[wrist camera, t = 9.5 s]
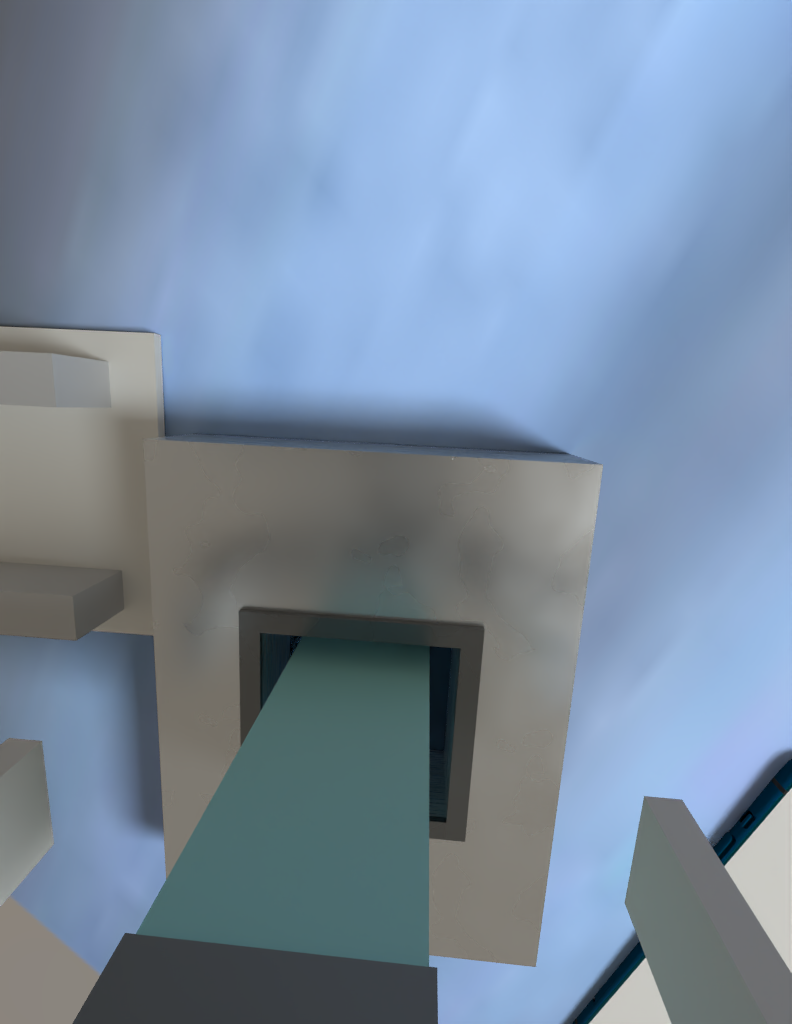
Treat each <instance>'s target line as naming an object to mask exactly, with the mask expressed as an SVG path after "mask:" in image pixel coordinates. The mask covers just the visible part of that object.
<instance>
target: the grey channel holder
mask: <svg viewBox="0 0 792 1024" xmlns="http://www.w3.org/2000/svg"><path fill="white" fill-rule="evenodd" d="M158 437H165V423H164V400H163V377H162V354H161V335H158V334H155V333H136V332H114V331H91V330H68V329H45V328H23V327H0V635H12V636H25V637H37V638H50V639H62V640H75V641H77V640H78V639H80V638H81V637H83V636H84V635H86V634H87V633H89V632H90V631H101V632H114V633H126V634H139V635H152V636H154V635H153V616H152V597H151V578H150V559H149V540H148V521H147V502H146V483H145V464H144V445H143V439H148V438H158Z"/></svg>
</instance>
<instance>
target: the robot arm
mask: <svg viewBox="0 0 792 1024" xmlns="http://www.w3.org/2000/svg"><path fill="white" fill-rule="evenodd" d="M53 844H54V840H53V832H52V823H51V815H50V806H49V798H48V789H47V781H46V772H45V764H44V755H43V747H42V741H36V740H25V739H14V738H9V739H7V740H6V741H5V742H4V743H2V744H1V745H0V907H1V905H2V904H3V903H4V902H5V901H6V900H7V898H8V897H9V896H10V895H11V894H12V893H13V891H14V890H15V889H16V888H17V887H18V886H19V884H20V883H21V882H22V881H23V880H24V878H25V877H26V876H27V875H28V874H29V873H30V871H31V870H32V869H33V868H34V867H35V866H36V864H37V863H38V862H39V861H40V860H41V859H42V857H43V856H44V855H45V854H46V853H47V852H48V850H49V849H50V848H51V847H52V846H53ZM625 905H626V907H627V910H628V913H629V915H630V918H631V920H632V923H633V925H634V928H635V931H636V933H637V936H638V938H639V941H640V944H641V946H642V949H643V951H644V954H645V956H646V959H647V962H648V964H649V967H650V969H651V972H652V975H653V977H654V980H655V982H656V985H657V987H658V990H659V993H660V995H661V998H662V1000H663V1003H664V1006H665V1008H666V1011H667V1013H668V1016H669V1019H670V1021H671V1024H792V973H791V972H790V970H789V968H788V967H787V965H786V964H785V962H784V960H783V959H782V957H781V956H780V954H779V953H778V951H777V949H776V948H775V946H774V945H773V943H772V941H771V940H770V938H769V937H768V935H767V934H766V932H765V930H764V929H763V927H762V926H761V924H760V922H759V921H758V919H757V918H756V916H755V915H754V913H753V911H752V910H751V908H750V907H749V905H748V903H747V902H746V900H745V899H744V897H743V896H742V894H741V892H740V891H739V889H738V888H737V886H736V884H735V883H734V881H733V880H732V878H731V877H730V875H729V873H728V872H727V870H726V869H725V867H724V865H723V864H722V862H721V861H720V859H719V858H718V856H717V854H716V853H715V851H714V850H713V848H712V846H711V845H710V843H709V842H708V840H707V838H706V837H705V835H704V834H703V832H702V831H701V829H700V827H699V826H698V824H697V823H696V821H695V819H694V818H693V816H692V815H691V813H690V812H689V810H688V808H687V807H686V805H685V804H684V802H683V800H680V799H669V798H658V797H647V796H644V800H643V806H642V811H641V817H640V822H639V828H638V833H637V839H636V844H635V850H634V855H633V861H632V866H631V871H630V877H629V882H628V888H627V893H626V899H625Z"/></svg>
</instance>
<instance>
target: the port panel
mask: <svg viewBox="0 0 792 1024" xmlns="http://www.w3.org/2000/svg"><path fill="white" fill-rule="evenodd" d="M143 445H144V464H145V483H146V502H147V521H148V540H149V559H150V578H151V597H152V616H153V635H154V654H155V674H156V693H157V712H158V731H159V750H160V769H161V788H162V807H163V826H164V845H165V864H166V879H167V878H168V876H169V874H170V872H171V871H172V869H173V867H174V865H175V863H176V862H177V860H178V858H179V856H180V854H181V853H182V851H183V849H184V847H185V846H186V844H187V842H188V840H189V838H190V837H191V835H192V833H193V831H194V829H195V828H196V826H197V824H198V822H199V821H200V819H201V817H202V815H203V813H204V812H205V810H206V808H207V806H208V804H209V803H210V801H211V799H212V797H213V795H214V794H215V792H216V790H217V788H218V787H219V785H220V783H221V781H222V779H223V778H224V776H225V774H226V772H227V770H228V769H229V767H230V765H231V763H232V762H233V760H234V758H235V756H236V754H237V753H238V751H239V749H240V747H241V745H242V744H243V742H244V740H245V738H246V736H247V735H248V733H249V731H250V729H251V728H252V726H253V724H254V722H255V720H256V719H257V717H258V715H259V713H260V711H261V710H262V708H263V706H264V704H265V703H266V701H267V699H268V697H269V695H270V694H271V692H272V690H273V688H274V686H275V685H276V683H277V681H278V679H279V677H280V676H281V674H282V672H283V670H284V669H285V667H286V665H287V663H288V661H289V660H290V642H291V635H293V636H306V637H319V638H332V639H345V640H358V641H371V642H384V643H396V644H409V645H422V646H435V647H448V648H452V651H451V664H450V677H449V689H448V702H447V715H446V728H445V740H444V751H438V750H429V955H434V956H443V957H452V958H461V959H469V960H478V961H487V962H496V963H505V964H514V965H523V966H532V967H536V960H537V953H538V945H539V938H540V931H541V923H542V916H543V908H544V901H545V893H546V886H547V878H548V871H549V864H550V856H551V849H552V841H553V834H554V826H555V819H556V811H557V804H558V797H559V789H560V782H561V774H562V767H563V759H564V752H565V744H566V737H567V730H568V722H569V715H570V707H571V700H572V692H573V685H574V677H575V670H576V663H577V655H578V648H579V640H580V633H581V625H582V618H583V610H584V603H585V596H586V588H587V581H588V573H589V566H590V558H591V551H592V543H593V536H594V529H595V521H596V514H597V506H598V499H599V491H600V484H601V476H602V469H603V465H602V464H599V463H596V462H593V461H590V460H587V459H584V458H581V457H578V456H574V455H571V454H556V453H538V452H520V451H502V450H484V449H466V448H448V447H429V446H411V445H393V444H375V443H357V442H339V441H321V440H303V439H285V438H266V437H248V436H230V435H212V434H186V435H176V436H167V437H158V438H148V439H143Z"/></svg>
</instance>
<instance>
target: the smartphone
mask: <svg viewBox="0 0 792 1024" xmlns="http://www.w3.org/2000/svg"><path fill="white" fill-rule="evenodd" d="M713 850H714V851H715V853H716V854H717V856H718V858H719V859H720V861H721V862H722V864H723V865H724V867H725V869H726V870H727V872H728V873H729V875H730V877H731V878H732V880H733V881H734V883H735V884H736V886H737V888H738V889H739V891H740V892H741V894H742V896H743V897H744V899H745V900H746V902H747V903H748V905H749V907H750V908H751V910H752V911H753V913H754V915H755V916H756V918H757V919H758V921H759V922H760V924H761V926H762V927H763V929H764V930H765V932H766V934H767V935H768V937H769V938H770V940H771V941H772V943H773V945H774V946H775V948H776V949H777V951H778V953H779V954H780V956H781V957H782V959H783V960H784V962H785V964H786V965H787V967H788V968H789V970H790V972H791V973H792V759H791V760H789V761H788V762H787V763H786V764H785V765H784V766H783V767H782V768H781V769H780V770H779V772H778V773H777V774H776V775H775V777H774V778H773V779H772V780H771V781H770V783H769V784H768V785H767V786H766V788H765V789H764V790H763V791H762V792H761V794H760V795H759V796H758V797H757V799H756V800H755V801H754V802H753V803H752V805H751V806H750V807H749V808H748V810H747V811H746V812H745V813H744V814H743V816H742V817H741V818H740V819H739V821H738V822H737V823H736V824H735V825H734V827H733V828H732V829H731V830H730V832H729V833H726V834H725V835H724V836H723V837H722V839H721V840H720V841H719V842H718V843H717V844H716V846H715V847H714V848H713ZM594 997H595V1000H594V999H592V1000H591V1001H590V1003H589V1004H588V1005H587V1006H586V1007H585V1009H584V1010H583V1011H582V1012H581V1014H580V1015H579V1016H578V1017H577V1018H576V1020H575V1021H574V1022H573V1023H572V1024H671V1021H670V1019H669V1016H668V1013H667V1011H666V1008H665V1006H664V1003H663V1000H662V998H661V995H660V993H659V990H658V987H657V985H656V982H655V980H654V977H653V975H652V972H651V969H650V967H649V964H648V962H647V959H646V956H645V954H644V951H643V949H642V946H641V944H640V941H639V943H638V944H637V945H636V946H635V948H634V949H633V950H632V951H631V952H630V954H629V955H628V956H627V957H626V959H625V960H624V961H623V962H622V963H621V965H620V966H619V967H618V968H617V970H616V971H615V972H614V973H613V974H612V976H611V977H610V978H609V979H608V981H607V982H606V983H605V984H604V985H603V987H602V988H601V989H600V990H599V992H598V993H597V994H596V995H595V996H594Z"/></svg>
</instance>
